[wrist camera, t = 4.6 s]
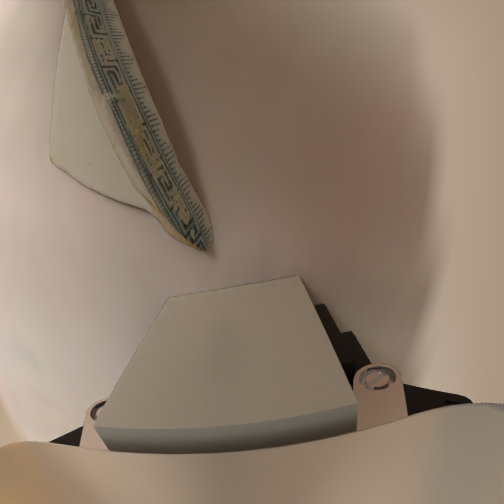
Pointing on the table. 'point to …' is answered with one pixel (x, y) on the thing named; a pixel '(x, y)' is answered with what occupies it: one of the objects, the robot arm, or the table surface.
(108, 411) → the plain grey carton
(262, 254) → the table surface
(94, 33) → the ceramic fragment
